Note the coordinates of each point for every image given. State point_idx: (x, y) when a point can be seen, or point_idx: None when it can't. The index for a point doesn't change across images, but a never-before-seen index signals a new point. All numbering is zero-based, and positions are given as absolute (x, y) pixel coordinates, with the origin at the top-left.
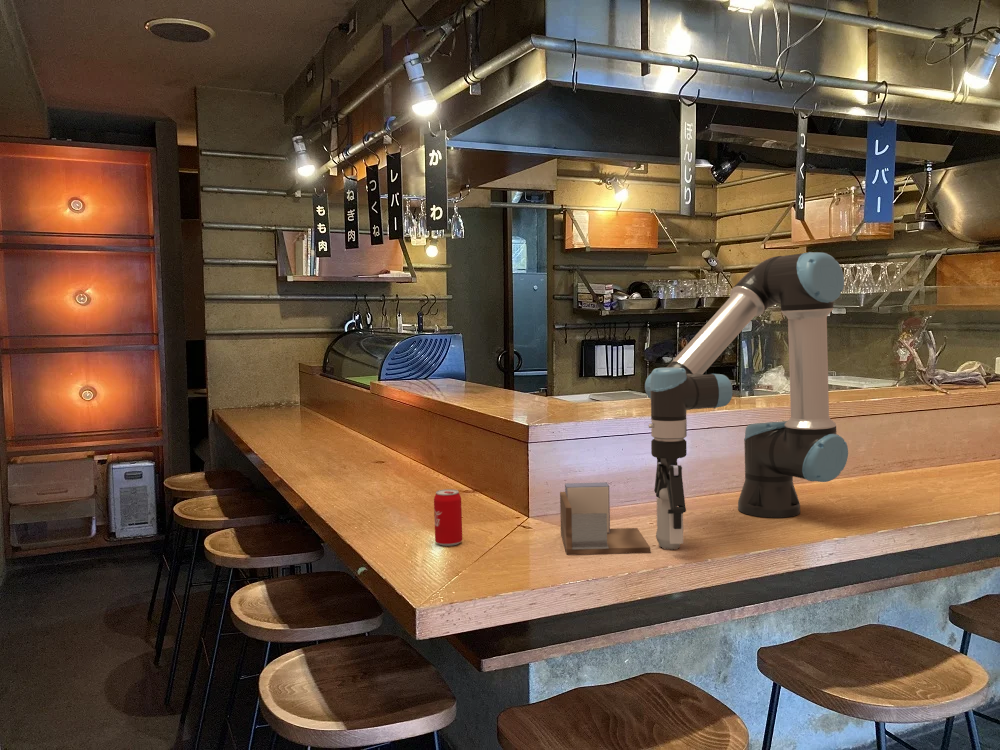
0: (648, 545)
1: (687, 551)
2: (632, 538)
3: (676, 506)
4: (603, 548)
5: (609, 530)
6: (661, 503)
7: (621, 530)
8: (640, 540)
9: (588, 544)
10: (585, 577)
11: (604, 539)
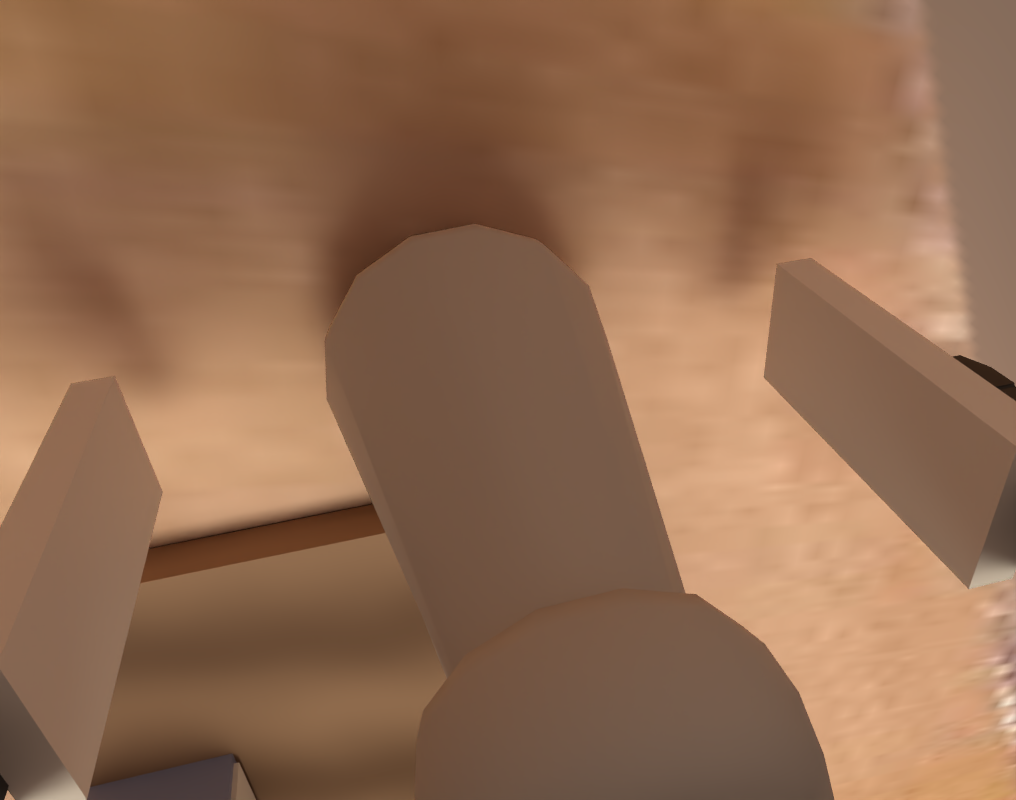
0: None
1: (592, 159)
2: (372, 612)
3: (634, 526)
4: None
5: (233, 775)
6: (82, 684)
7: (119, 705)
8: None
9: None
10: (973, 688)
11: None
